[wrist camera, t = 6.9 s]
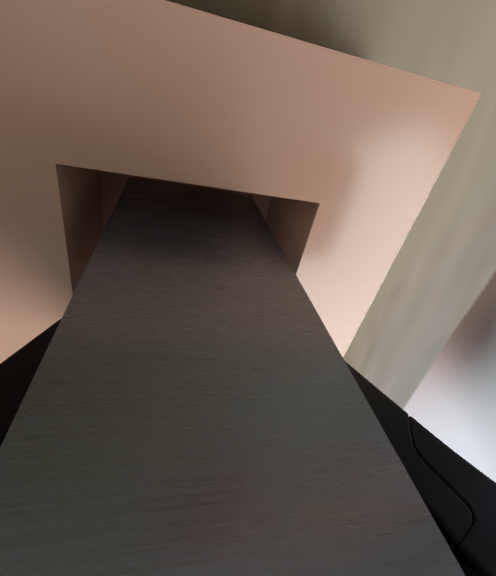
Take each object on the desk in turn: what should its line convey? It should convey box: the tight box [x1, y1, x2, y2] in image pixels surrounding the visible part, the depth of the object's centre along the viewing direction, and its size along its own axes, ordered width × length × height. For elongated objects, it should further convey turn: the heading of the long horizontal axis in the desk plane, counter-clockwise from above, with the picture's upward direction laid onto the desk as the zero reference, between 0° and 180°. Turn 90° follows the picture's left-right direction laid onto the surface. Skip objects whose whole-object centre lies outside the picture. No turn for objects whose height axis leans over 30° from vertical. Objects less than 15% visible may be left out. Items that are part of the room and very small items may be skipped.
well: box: [0, 0, 481, 363], centre depth 11 cm, size 12×12×5 cm
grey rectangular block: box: [0, 178, 465, 576], centre depth 7 cm, size 4×4×10 cm
